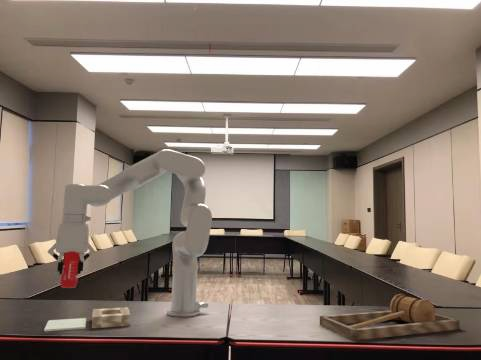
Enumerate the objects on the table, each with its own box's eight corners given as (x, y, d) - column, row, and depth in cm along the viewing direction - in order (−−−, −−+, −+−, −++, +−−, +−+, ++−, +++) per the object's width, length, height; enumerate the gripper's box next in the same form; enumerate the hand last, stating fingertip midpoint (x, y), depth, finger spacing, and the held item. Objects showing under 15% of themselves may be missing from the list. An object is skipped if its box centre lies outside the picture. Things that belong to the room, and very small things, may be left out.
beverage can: (70, 288, 123) (74, 251, 125) (56, 287, 124) (60, 250, 126) (80, 286, 128) (84, 250, 130) (66, 285, 129) (70, 249, 131)
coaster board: (86, 319, 132) (86, 318, 132) (85, 328, 121) (85, 326, 121) (48, 322, 128) (48, 320, 128) (43, 331, 117) (44, 329, 117)
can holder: (127, 317, 137) (127, 307, 138) (130, 325, 126) (130, 314, 127) (92, 319, 133) (92, 309, 133) (91, 328, 122) (92, 317, 122)
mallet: (331, 341, 129) (328, 311, 130) (410, 317, 144) (407, 291, 145) (355, 352, 118) (351, 320, 119) (438, 325, 133) (434, 297, 134)
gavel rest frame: (416, 316, 149) (416, 308, 149) (459, 329, 131) (459, 320, 131) (319, 324, 133) (319, 316, 133) (354, 340, 115) (354, 330, 115)
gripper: (100, 220, 135) (96, 271, 133) (47, 219, 129) (43, 272, 127) (100, 220, 128) (97, 274, 126) (45, 219, 122) (40, 275, 120)
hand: (70, 273), depth 127 cm, fingers closed on beverage can, 5 cm apart
